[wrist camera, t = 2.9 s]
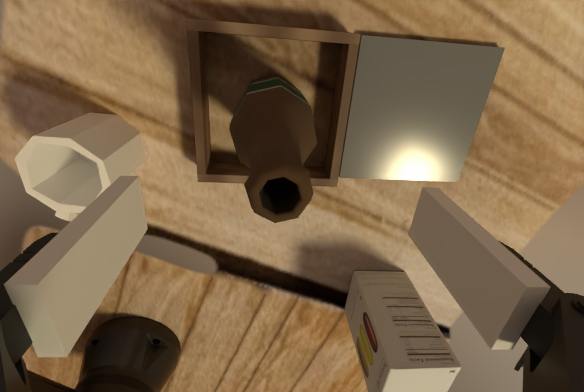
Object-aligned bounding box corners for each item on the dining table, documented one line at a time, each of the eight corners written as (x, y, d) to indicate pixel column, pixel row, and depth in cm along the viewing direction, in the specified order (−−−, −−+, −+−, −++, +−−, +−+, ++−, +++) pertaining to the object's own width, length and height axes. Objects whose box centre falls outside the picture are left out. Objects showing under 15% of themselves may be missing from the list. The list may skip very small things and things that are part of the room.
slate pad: (337, 174, 42) (339, 177, 41) (359, 35, 34) (361, 34, 33) (453, 179, 44) (457, 182, 43) (499, 47, 36) (504, 47, 35)
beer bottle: (279, 58, 35) (301, 87, 13) (315, 114, 38) (379, 210, 17) (225, 99, 36) (169, 182, 15) (264, 149, 39) (264, 278, 18)
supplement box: (352, 269, 50) (390, 367, 35) (406, 269, 51) (465, 365, 36) (343, 311, 54) (373, 414, 39) (392, 311, 55) (440, 411, 40)
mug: (79, 99, 35) (18, 119, 26) (155, 130, 37) (122, 157, 28) (64, 186, 40) (7, 227, 31) (133, 208, 42) (98, 253, 33)
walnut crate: (203, 169, 40) (197, 181, 36) (195, 20, 32) (186, 18, 29) (330, 174, 42) (336, 186, 38) (350, 34, 34) (360, 33, 30)
